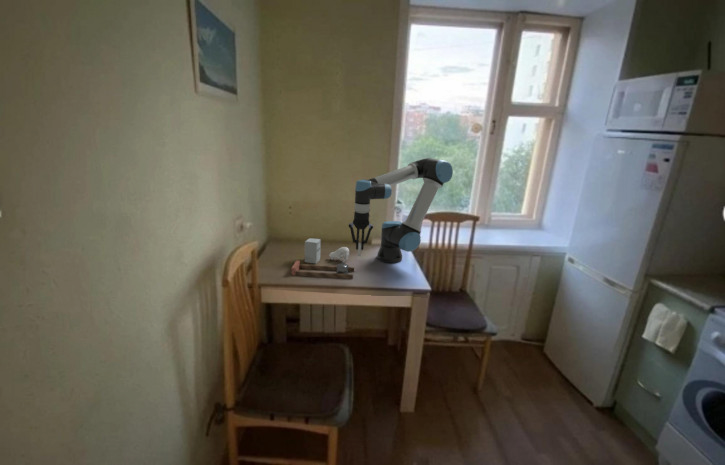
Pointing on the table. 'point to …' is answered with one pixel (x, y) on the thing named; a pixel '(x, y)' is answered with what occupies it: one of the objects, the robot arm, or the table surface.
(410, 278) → the table surface
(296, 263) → the stop block
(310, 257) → the supplement box
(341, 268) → the cylinder
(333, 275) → the guide rails
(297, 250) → the table surface
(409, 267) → the table surface
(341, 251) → the white figurine
